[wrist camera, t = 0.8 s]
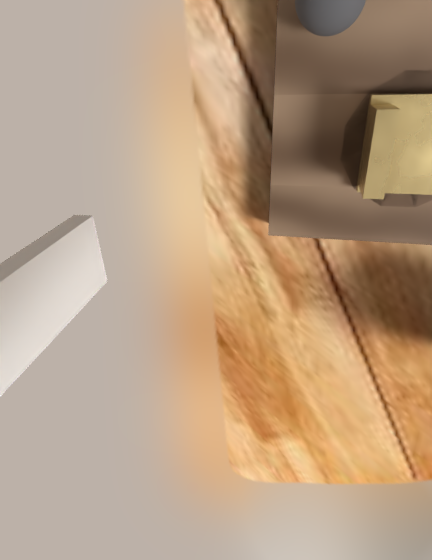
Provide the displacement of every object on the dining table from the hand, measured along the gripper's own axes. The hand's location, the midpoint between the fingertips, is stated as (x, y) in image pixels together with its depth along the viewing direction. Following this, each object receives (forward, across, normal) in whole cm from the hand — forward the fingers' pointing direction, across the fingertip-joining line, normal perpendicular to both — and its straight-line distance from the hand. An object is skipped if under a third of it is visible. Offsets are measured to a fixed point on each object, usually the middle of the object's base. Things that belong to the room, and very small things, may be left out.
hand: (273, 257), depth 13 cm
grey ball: (+15, +2, +9) cm, 17 cm away
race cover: (+16, +7, +1) cm, 18 cm away
